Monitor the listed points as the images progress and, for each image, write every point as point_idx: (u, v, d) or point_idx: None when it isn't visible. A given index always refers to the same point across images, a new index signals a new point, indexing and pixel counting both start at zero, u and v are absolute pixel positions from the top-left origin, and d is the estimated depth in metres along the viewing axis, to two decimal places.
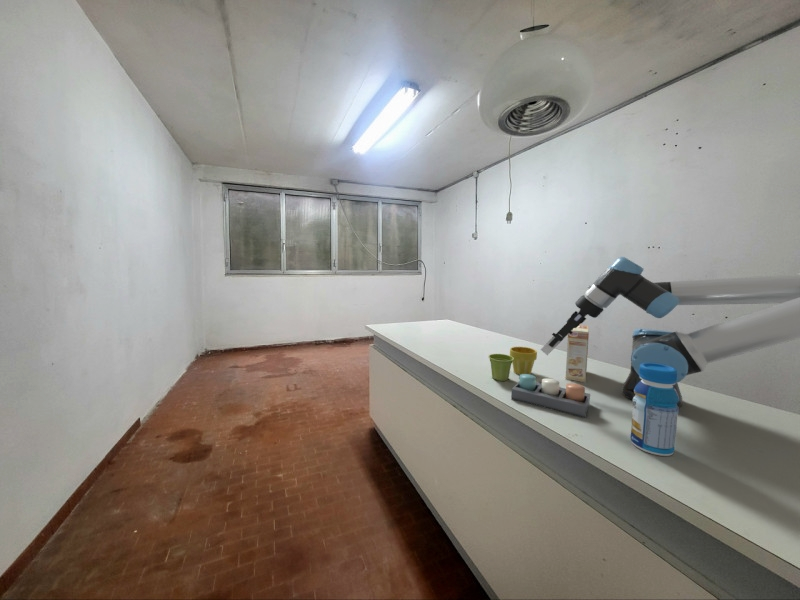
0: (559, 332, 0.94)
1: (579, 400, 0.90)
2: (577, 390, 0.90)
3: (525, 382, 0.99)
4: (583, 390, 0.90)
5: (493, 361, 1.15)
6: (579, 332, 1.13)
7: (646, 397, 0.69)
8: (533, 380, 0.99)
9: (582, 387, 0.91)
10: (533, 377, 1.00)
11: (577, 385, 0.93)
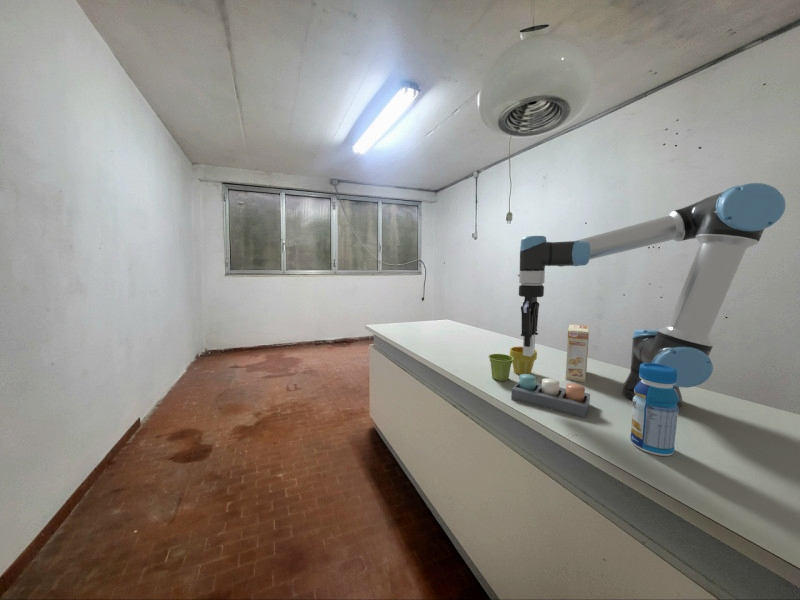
0: (522, 330, 0.96)
1: (579, 400, 0.90)
2: (577, 390, 0.90)
3: (525, 382, 0.99)
4: (583, 390, 0.90)
5: (493, 361, 1.15)
6: (579, 332, 1.13)
7: (646, 397, 0.69)
8: (533, 380, 0.99)
9: (582, 387, 0.91)
10: (533, 377, 1.00)
11: (577, 385, 0.93)
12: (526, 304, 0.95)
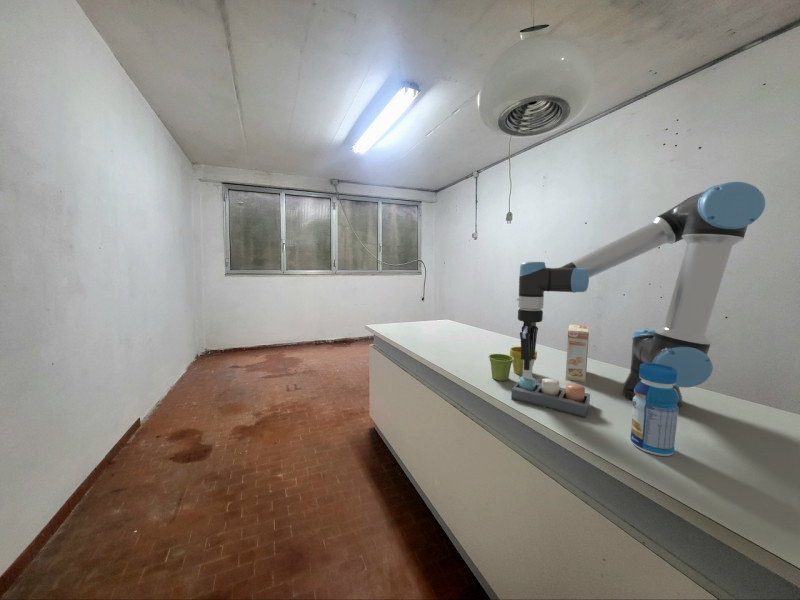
0: (522, 355, 0.97)
1: (579, 400, 0.90)
2: (577, 390, 0.90)
3: (525, 384, 0.99)
4: (583, 390, 0.90)
5: (493, 361, 1.15)
6: (579, 332, 1.13)
7: (646, 397, 0.69)
8: (533, 382, 0.99)
9: (582, 387, 0.91)
10: (533, 379, 1.00)
11: (577, 385, 0.93)
12: (525, 330, 0.95)
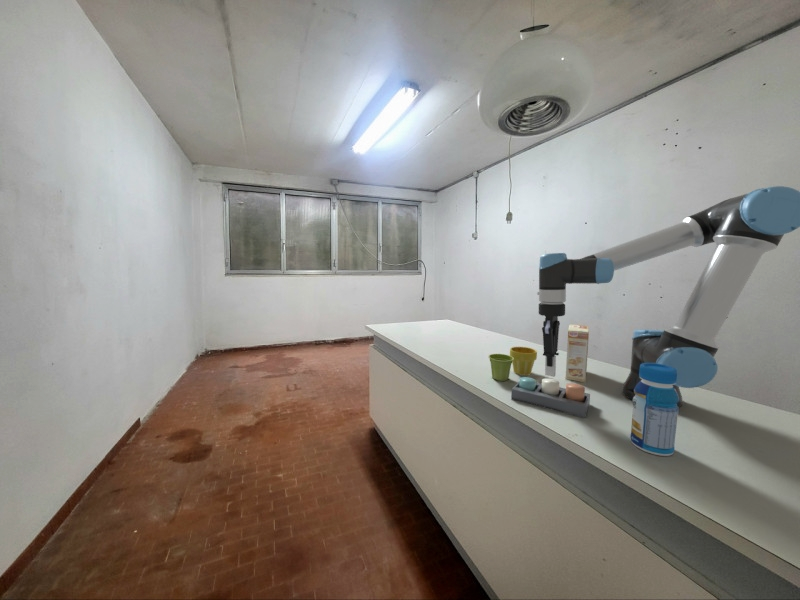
0: (545, 351, 0.93)
1: (579, 400, 0.90)
2: (577, 390, 0.90)
3: (525, 385, 0.99)
4: (583, 390, 0.90)
5: (493, 361, 1.15)
6: (579, 332, 1.13)
7: (646, 397, 0.69)
8: (533, 383, 0.99)
9: (582, 387, 0.91)
10: (533, 380, 1.00)
11: (577, 385, 0.93)
12: (547, 324, 0.91)
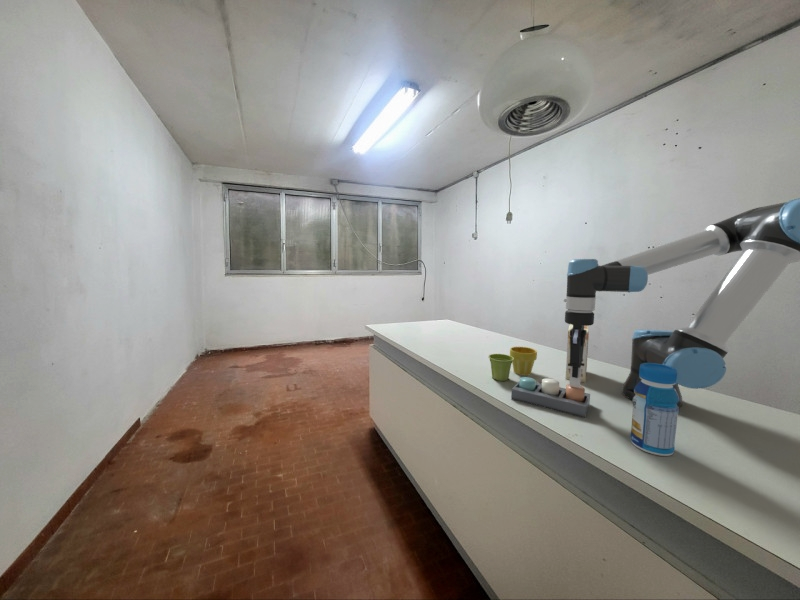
0: (571, 361, 0.89)
1: (579, 401, 0.90)
2: (577, 391, 0.90)
3: (525, 385, 0.99)
4: (583, 391, 0.90)
5: (493, 361, 1.15)
6: None
7: (646, 397, 0.69)
8: (533, 383, 0.99)
9: (582, 388, 0.91)
10: (533, 380, 1.00)
11: None
12: (575, 334, 0.87)
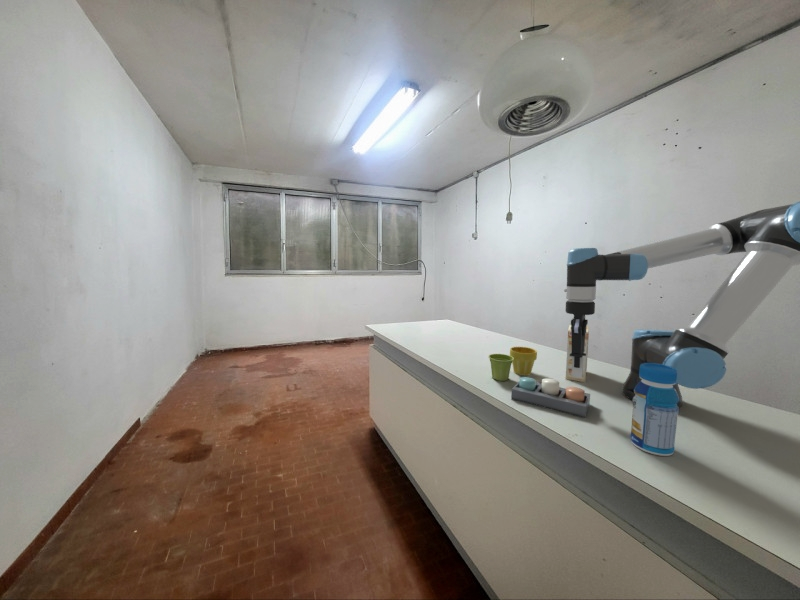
0: (573, 351, 0.88)
1: None
2: (577, 394, 0.90)
3: (525, 385, 0.99)
4: (583, 394, 0.90)
5: (493, 361, 1.15)
6: None
7: (646, 397, 0.69)
8: (533, 383, 0.99)
9: (582, 391, 0.91)
10: (533, 380, 1.00)
11: (577, 389, 0.93)
12: (576, 323, 0.86)
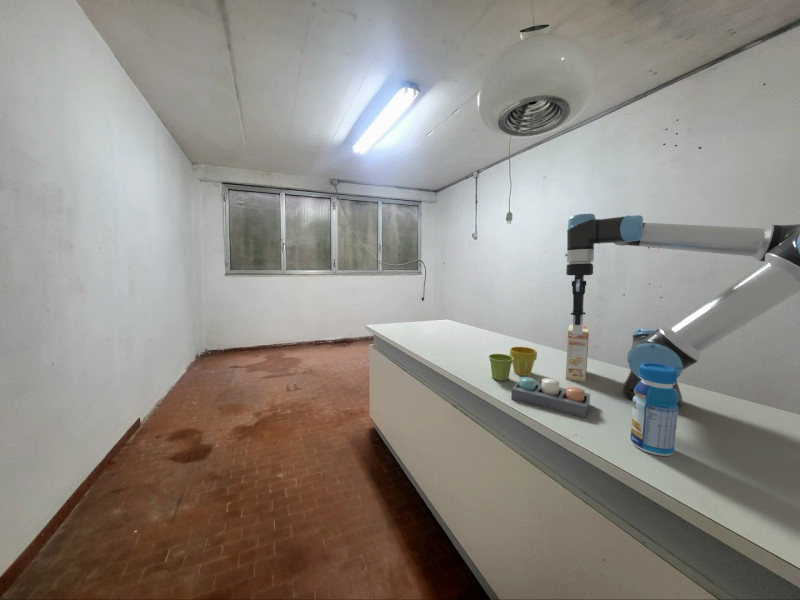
0: (574, 309, 0.96)
1: None
2: (577, 394, 0.90)
3: (525, 385, 0.99)
4: (583, 394, 0.90)
5: (493, 361, 1.15)
6: None
7: (646, 397, 0.69)
8: (533, 383, 0.99)
9: (582, 391, 0.91)
10: (533, 380, 1.00)
11: (577, 389, 0.93)
12: (578, 283, 0.95)
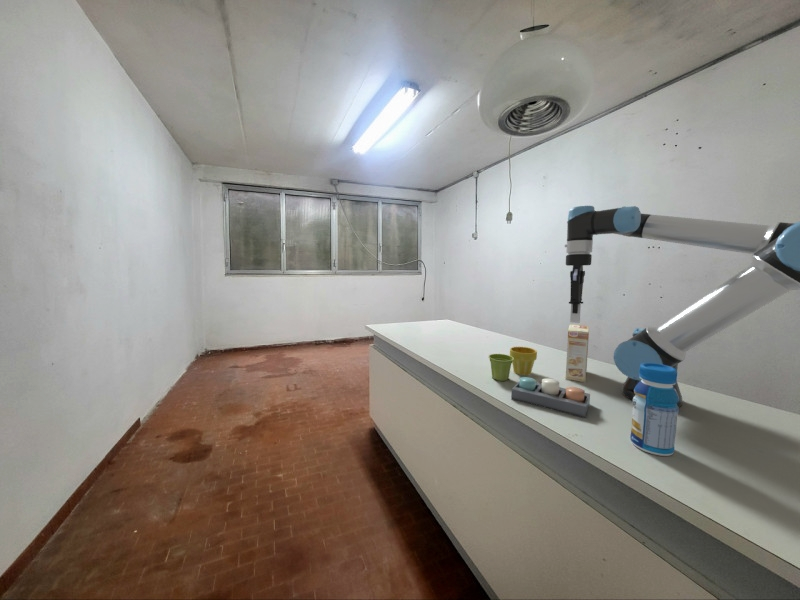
0: (571, 298, 1.00)
1: None
2: (577, 394, 0.90)
3: (525, 385, 0.99)
4: (583, 394, 0.90)
5: (493, 361, 1.15)
6: (579, 332, 1.13)
7: (646, 397, 0.69)
8: (533, 383, 0.99)
9: (582, 391, 0.91)
10: (533, 380, 1.00)
11: (577, 389, 0.93)
12: (575, 272, 0.99)
